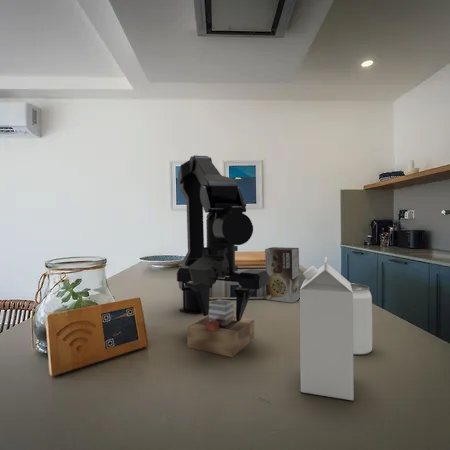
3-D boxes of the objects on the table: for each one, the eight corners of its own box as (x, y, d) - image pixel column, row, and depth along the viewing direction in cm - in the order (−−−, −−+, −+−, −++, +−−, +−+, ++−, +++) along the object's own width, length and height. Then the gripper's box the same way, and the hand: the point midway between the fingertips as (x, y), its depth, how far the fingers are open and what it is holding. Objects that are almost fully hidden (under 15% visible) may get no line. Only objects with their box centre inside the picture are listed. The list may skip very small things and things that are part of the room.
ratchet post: (209, 342, 63) (208, 303, 63) (218, 336, 66) (218, 299, 66) (225, 346, 61) (225, 305, 61) (234, 339, 64) (233, 301, 64)
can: (376, 357, 56) (375, 290, 56) (338, 354, 58) (338, 289, 57) (367, 343, 63) (367, 283, 62) (333, 340, 64) (333, 282, 64)
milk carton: (350, 377, 49) (350, 257, 49) (353, 402, 43) (352, 263, 42) (304, 370, 52) (303, 255, 51) (300, 393, 45) (299, 261, 45)
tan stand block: (187, 347, 62) (187, 320, 62) (213, 331, 71) (213, 308, 70) (232, 357, 57) (232, 328, 57) (254, 338, 66) (254, 314, 66)
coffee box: (300, 298, 98) (299, 247, 98) (293, 303, 93) (292, 249, 93) (273, 295, 103) (272, 246, 103) (265, 299, 98) (264, 248, 97)
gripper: (158, 243, 61) (159, 323, 61) (245, 246, 52) (247, 339, 52) (191, 239, 71) (192, 308, 71) (269, 241, 62) (270, 320, 62)
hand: (221, 318), depth 64 cm, fingers open, 7 cm apart
